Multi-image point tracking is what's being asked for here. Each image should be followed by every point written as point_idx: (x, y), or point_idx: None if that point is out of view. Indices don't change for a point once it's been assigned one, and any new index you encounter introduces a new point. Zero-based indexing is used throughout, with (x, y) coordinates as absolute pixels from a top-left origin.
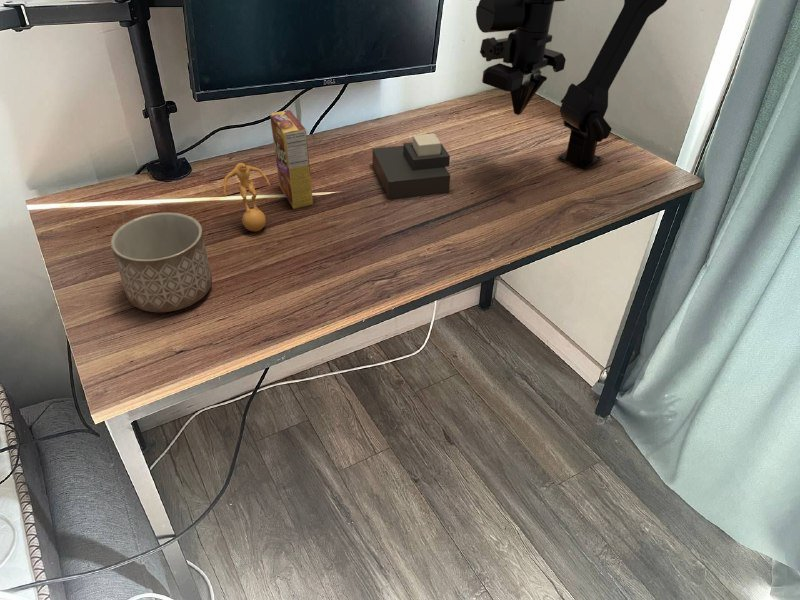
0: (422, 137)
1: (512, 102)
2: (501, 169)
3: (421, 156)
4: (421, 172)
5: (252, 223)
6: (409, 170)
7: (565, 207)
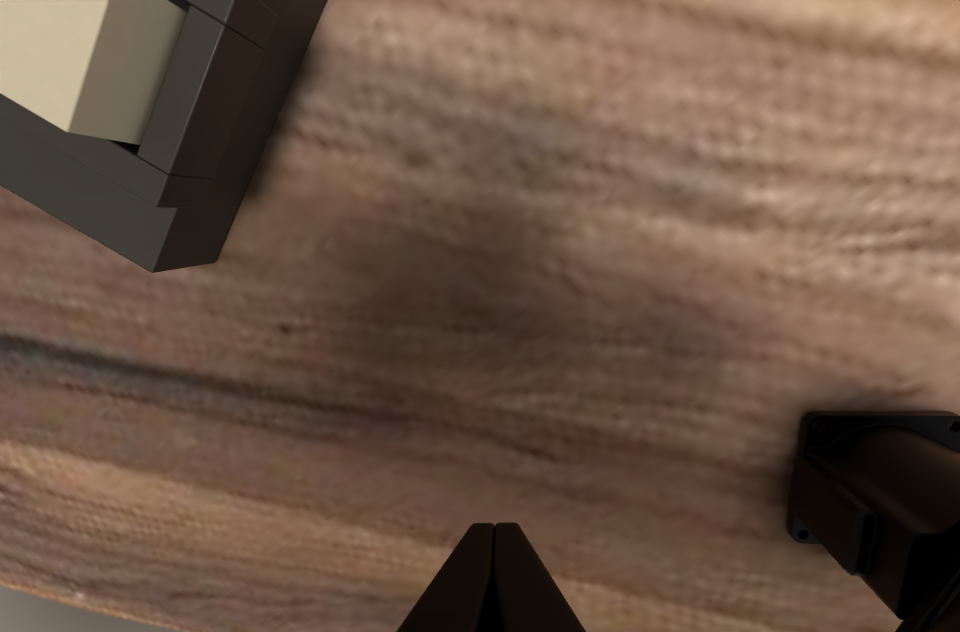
0: None
1: (415, 607)
2: (534, 286)
3: None
4: (50, 154)
5: None
6: None
7: None
